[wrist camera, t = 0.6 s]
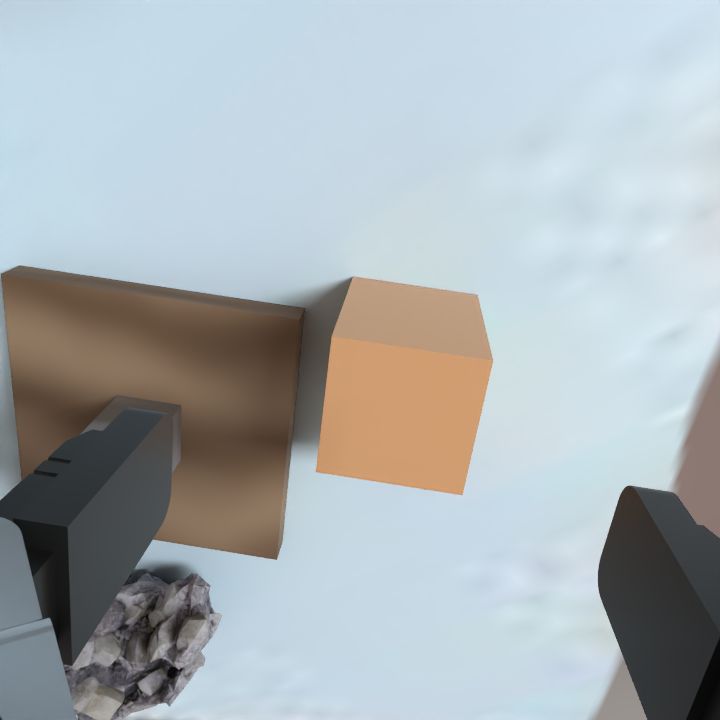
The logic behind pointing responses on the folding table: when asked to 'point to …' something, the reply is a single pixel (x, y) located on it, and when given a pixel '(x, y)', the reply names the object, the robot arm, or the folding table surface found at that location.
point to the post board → (164, 391)
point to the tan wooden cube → (404, 386)
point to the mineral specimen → (143, 648)
